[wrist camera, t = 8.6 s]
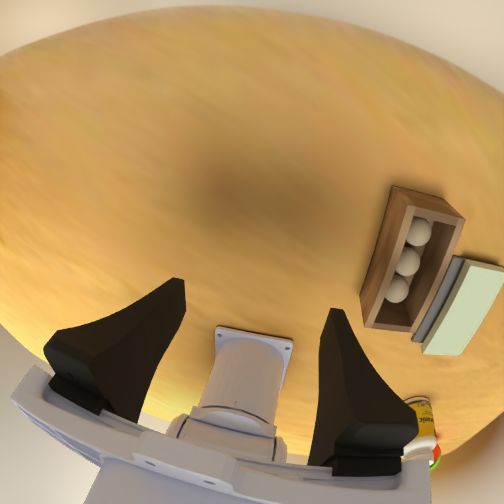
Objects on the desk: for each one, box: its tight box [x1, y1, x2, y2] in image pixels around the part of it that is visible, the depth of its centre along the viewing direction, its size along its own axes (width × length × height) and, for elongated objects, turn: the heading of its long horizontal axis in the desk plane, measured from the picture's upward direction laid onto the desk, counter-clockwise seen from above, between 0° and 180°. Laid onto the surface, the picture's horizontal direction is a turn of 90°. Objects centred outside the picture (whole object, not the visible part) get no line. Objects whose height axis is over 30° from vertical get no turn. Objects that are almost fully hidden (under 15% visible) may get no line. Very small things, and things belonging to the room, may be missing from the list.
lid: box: [421, 259, 504, 355], centre depth 21 cm, size 10×5×2 cm, turn 176°
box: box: [359, 186, 465, 333], centre depth 19 cm, size 10×5×4 cm, turn 175°
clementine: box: [430, 444, 441, 471], centre depth 33 cm, size 8×7×7 cm
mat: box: [411, 255, 504, 343], centre depth 22 cm, size 10×7×1 cm
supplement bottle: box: [401, 397, 437, 466], centre depth 27 cm, size 5×5×10 cm
